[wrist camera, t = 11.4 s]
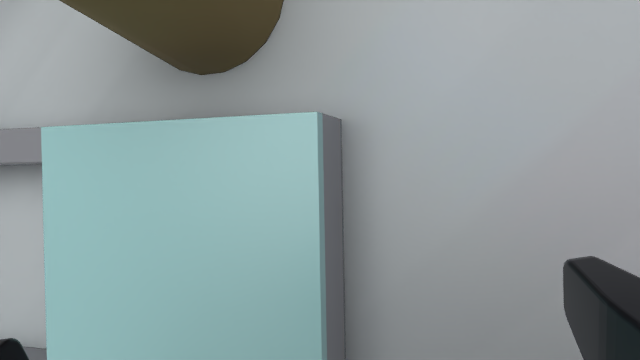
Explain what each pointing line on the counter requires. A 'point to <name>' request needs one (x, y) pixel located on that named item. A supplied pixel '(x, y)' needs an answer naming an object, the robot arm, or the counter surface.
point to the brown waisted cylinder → (189, 28)
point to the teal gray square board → (190, 237)
